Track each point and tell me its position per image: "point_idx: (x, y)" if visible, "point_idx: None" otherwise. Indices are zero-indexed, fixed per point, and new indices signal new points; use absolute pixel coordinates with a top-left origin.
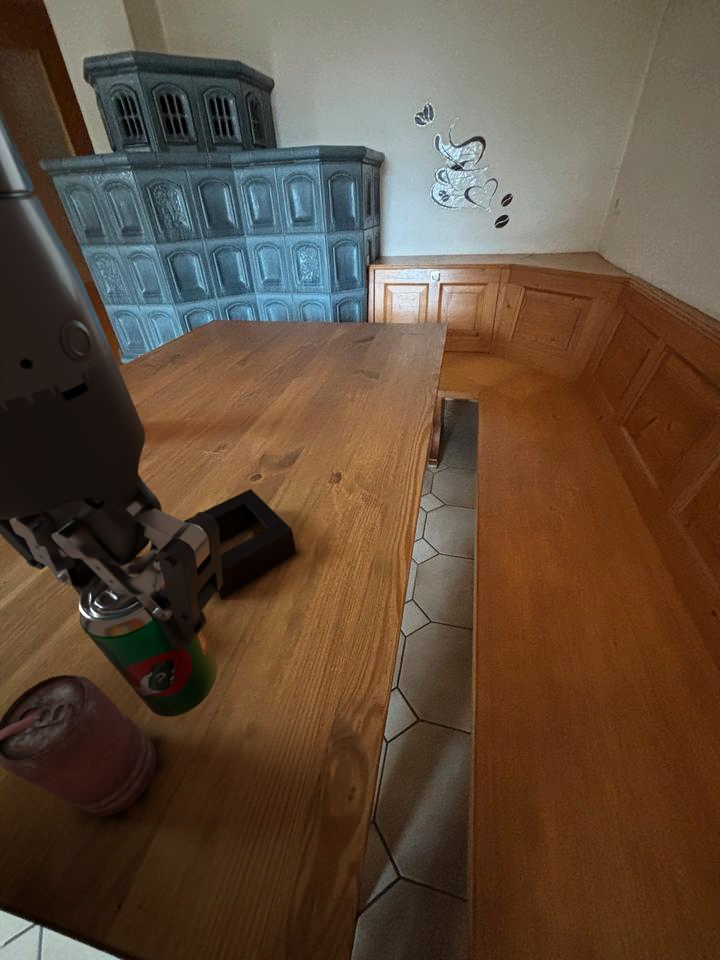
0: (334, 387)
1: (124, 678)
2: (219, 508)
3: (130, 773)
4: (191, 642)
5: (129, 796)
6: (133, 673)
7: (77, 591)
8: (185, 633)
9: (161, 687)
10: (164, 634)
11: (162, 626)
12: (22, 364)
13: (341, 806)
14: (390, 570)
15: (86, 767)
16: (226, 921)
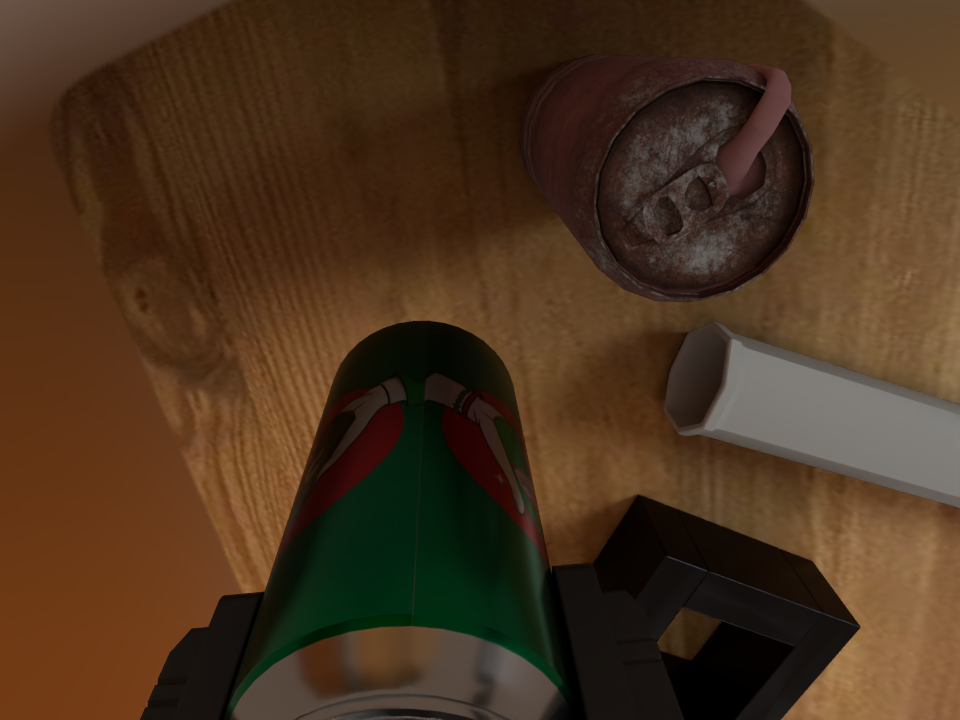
0: None
1: (437, 409)
2: (777, 701)
3: (531, 152)
4: (179, 642)
5: (528, 114)
6: (353, 463)
7: (625, 699)
8: (162, 690)
9: (332, 426)
10: (235, 657)
11: (197, 715)
12: None
13: (147, 275)
14: None
15: (560, 137)
16: (230, 46)
